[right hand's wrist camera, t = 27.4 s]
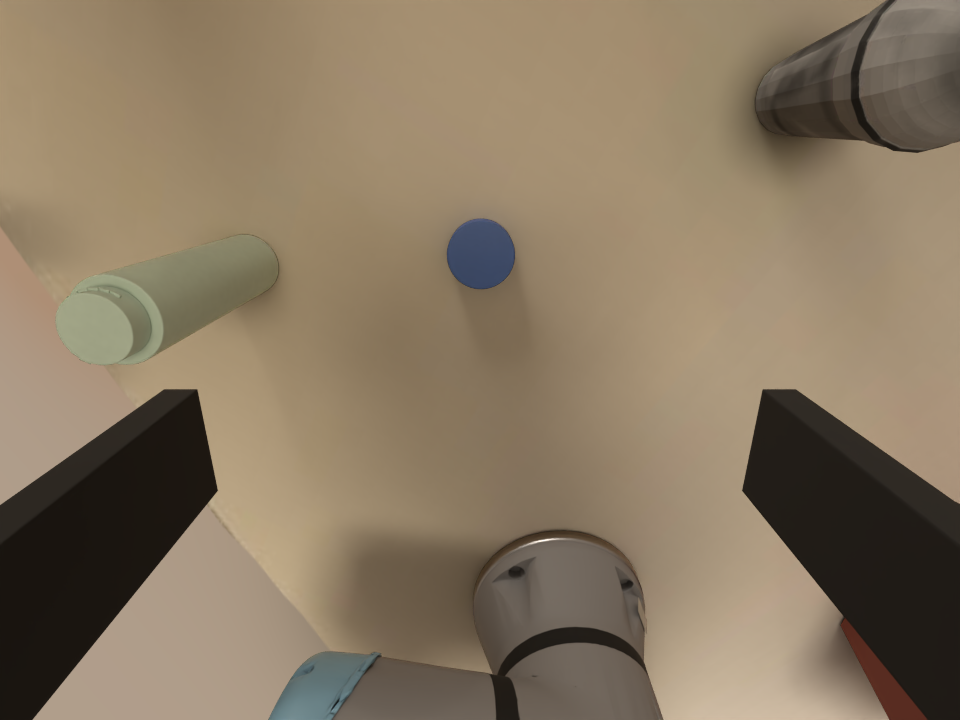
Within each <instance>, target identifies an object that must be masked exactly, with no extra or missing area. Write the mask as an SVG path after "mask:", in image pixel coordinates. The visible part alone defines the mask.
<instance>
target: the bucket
mask: <svg viewBox="0 0 960 720" xmlns="http://www.w3.org/2000/svg"><path fill="white" fill-rule="evenodd" d="M841 627H842V629H843V631H844V633H845V635H846V637H847V639H848V641H849V643H850V645H851V647H852V649H853V650H854V652H855V654H856V656H857V658H858V660H859V662H860V664H861V666H862V668H863V670H864V672H865V674H866V675H867V677H868V679H869V681H870V683H871V685H872V687H873V689H874V691H875V693H876V695H877V697H878V699H879V701H880V702H881V704H882V706H883V708H884V710H885V712H886V714H887V716H888V718H889V720H927V718H926V717H925V716H924V715H923V713H922V712H921V711H920V710H919V708H918V707H917V706H916V705H915V704H914V702H913V701H912V700H911V699H910V697H909V696H908V695H907V694H906V692H905V691H904V690H903V689H902V687H901V686H900V685H899V684H898V683H897V681H896V680H895V679H894V678H893V676H892V675H891V674H890V673H889V671H888V670H887V669H886V668H885V666H884V665H883V664H882V663H881V662H880V660H879V659H878V658H877V657H876V655H875V654H874V653H873V652H872V650H871V649H870V648H869V647H868V645H867V644H866V643H865V642H864V641H863V639H862V638H861V637H860V636H859V634H858V633H857V632H856V631H855V629H854V628H853V627H852V626H851V624H850V623H849V622H848V621H847V620H846V618H844V620H843V622H842V624H841Z"/></svg>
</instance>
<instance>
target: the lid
mask: <svg viewBox="0 0 960 720" xmlns="http://www.w3.org/2000/svg"><path fill="white" fill-rule="evenodd" d="M514 259H515V250H514V246H513V243H512V240H511V238H510V236H509V234H508V233H507V231H506V230H505V229H504V228H503V227H502V226H501V225H499V224H498V223H496V222H494V221H492V220H488V219H474V220H470V221H468V222H466V223H464V224H462V225H461V226H460V227H459V228H458V229H457V230H456V231H455V232H454V234H453V236H452V237H451V240H450V242H449V245H448V250H447V260H448V265H449V268H450V270H451V272H452V273H453V275H454V276H455V277H456V279H457V280H458V281H460V282H461V283H462V284H464V285H466V286H468V287H471V288H475V289H487V288H491V287H494V286H496V285H498V284H500V283H501V282H502V281H503V280H504V279H505V278H506V277H507V276H508V275H509V273H510V272H511V270H512V267H513V264H514Z"/></svg>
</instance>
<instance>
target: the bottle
mask: <svg viewBox="0 0 960 720" xmlns="http://www.w3.org/2000/svg"><path fill="white" fill-rule="evenodd" d="M278 271H279V267H278V261H277V258H276V255H275V253H274V252H273V250H272V249H271V247H270V246H269V245H268V244H267V243H265V242H264V241H263V240H261V239H260V238H258V237H255V236H252V235H246V234H242V235H236V236H232V237H229V238H225V239H222V240H218V241H215V242H211V243H208V244H204V245H200V246H197V247H193V248H190V249H186V250H183V251H179V252H176V253H172V254H169V255H165V256H161V257H158V258H154V259H151V260H147V261H144V262H140V263H137V264H133V265H129V266H126V267H122V268H119V269H115V270H112V271H108V272H105V273H101V274H97V275H94V276H91V277H88V278H86V279H84V280H82V281H81V282H80V283H79V284H78V285H77V286H76V287H75V288H74V289H73V291H72V293H71V295H70V296H68V297H67V298H66V299H65V300H64V301H63V302H62V303H61V304H60V306H59V308H58V310H57V313H56V320H55V321H56V328H57V332H58V335H59V337H60V339H61V340H62V342H63V343H64V345H65V346H66V347H67V348H68V349H69V350H70V351H71V353H73V354H74V355H76V356H77V357H78V358H80V360H82V361H84V362H87V363H89V364H97V365H112V364H115V363H116V364H123V365H131V364H138V363H141V362H144V361H146V360H148V359H150V358H151V357H153V356H155V355H156V354H158V353H160V352H162V351H163V350H165V349H167V348H168V347H170V346H172V345H174V344H175V343H177V342H179V341H181V340H182V339H184V338H186V337H187V336H189V335H191V334H193V333H194V332H196V331H198V330H200V329H201V328H203V327H205V326H206V325H208V324H210V323H212V322H213V321H215V320H217V319H218V318H220V317H222V316H224V315H225V314H227V313H229V312H231V311H232V310H234V309H236V308H237V307H239V306H241V305H243V304H244V303H246V302H248V301H249V300H251V299H253V298H255V297H256V296H258V295H260V294H262V293H263V292H265V291H267V290H268V289H270V288H271V287H272V286H273V284H274V283H275V281H276V279H277V277H278Z"/></svg>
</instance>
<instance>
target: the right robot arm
mask: <svg viewBox="0 0 960 720" xmlns="http://www.w3.org/2000/svg"><path fill="white" fill-rule="evenodd" d="M217 491H218V489H217V484H216V480H215V475H214V470H213V465H212V460H211V455H210V450H209V445H208V440H207V435H206V430H205V425H204V420H203V415H202V410H201V406H200V401H199V396H198V391H197V389H164V390H163V391H161V392H160V393H159V394H157V395H156V396H154V397H153V398H151V399H150V400H149V401H147V402H146V403H144V404H143V405H142V406H140V407H139V408H137V409H136V410H134V411H133V412H132V413H130V414H129V415H127V416H126V417H125V418H123V419H122V420H120V421H119V422H117V423H116V424H115V425H113V426H112V427H110V428H109V429H108V430H106V431H105V432H103V433H102V434H100V435H99V436H98V437H96V438H95V439H93V440H92V441H91V442H89V443H88V444H86V445H85V446H83V447H82V448H81V449H79V450H78V451H76V452H75V453H73V454H72V455H71V456H69V457H68V458H66V459H65V460H64V461H62V462H61V463H59V464H58V465H56V466H55V467H54V468H52V469H51V470H49V471H48V472H47V473H45V474H44V475H42V476H41V477H39V478H38V479H37V480H35V481H34V482H32V483H31V484H30V485H28V486H27V487H25V488H24V489H23V490H21V491H20V492H18V493H17V494H15V495H14V496H13V497H11V498H10V499H8V500H7V501H5V502H4V503H3V504H1V505H0V720H33V718H34V717H35V716H36V715H37V713H38V712H39V711H40V710H41V708H42V707H43V706H44V705H45V704H46V702H47V701H48V700H49V699H50V697H51V696H52V695H53V694H54V692H55V691H56V690H57V689H58V687H59V686H60V685H61V684H62V683H63V681H64V680H65V679H66V678H67V676H68V675H69V674H70V673H71V671H72V670H73V669H74V668H75V666H76V665H77V664H78V663H79V662H80V660H81V659H82V658H83V657H84V655H85V654H86V653H87V652H88V650H89V649H90V648H91V647H92V645H93V644H94V643H95V642H96V640H97V639H98V638H99V637H100V636H101V634H102V633H103V632H104V631H105V629H106V628H107V627H108V626H109V624H110V623H111V622H112V621H113V620H114V618H115V617H116V616H117V615H118V613H119V612H120V611H121V610H122V608H123V607H124V606H125V605H126V603H127V602H128V601H129V600H130V598H131V597H132V596H133V595H134V594H135V592H136V591H137V590H138V589H139V587H140V586H141V585H142V584H143V582H144V581H145V580H146V579H147V578H148V576H149V575H150V574H151V573H152V571H153V570H154V569H155V568H156V566H157V565H158V564H159V563H160V561H161V560H162V559H163V558H164V557H165V555H166V554H167V553H168V552H169V550H170V549H171V548H172V547H173V545H174V544H175V543H176V542H177V540H178V539H179V538H180V537H181V536H182V534H183V533H184V532H185V531H186V529H187V528H188V527H189V526H190V524H191V523H192V522H193V521H194V519H195V518H196V517H197V516H198V514H199V513H200V512H201V511H202V510H203V508H204V507H205V506H206V505H207V503H208V502H209V501H210V500H211V498H212V497H213V496H214V495H215V494H216V492H217ZM742 491H743V492H744V494H745V495H746V496H747V497H748V498H749V500H750V501H751V502H752V503H753V505H754V506H755V507H756V508H757V510H758V511H759V512H760V513H761V515H762V516H763V517H764V518H765V519H766V521H767V522H768V523H769V524H770V526H771V527H772V528H773V529H774V531H775V532H776V533H777V534H778V536H779V537H780V538H781V539H782V540H783V542H784V543H785V544H786V545H787V547H788V548H789V549H790V550H791V552H792V553H793V554H794V555H795V557H796V558H797V559H798V560H799V561H800V563H801V564H802V565H803V566H804V568H805V569H806V570H807V571H808V573H809V574H810V575H811V576H812V578H813V579H814V580H815V581H816V582H817V584H818V585H819V586H820V587H821V589H822V590H823V591H824V592H825V594H826V595H827V596H828V597H829V599H830V600H831V601H832V602H833V603H834V605H835V606H836V607H837V608H838V610H839V611H840V612H841V613H842V615H843V616H844V617H845V618H846V620H847V621H848V622H849V623H850V624H851V626H852V627H853V628H854V629H855V631H856V632H857V633H858V634H859V636H860V637H861V638H862V639H863V641H864V642H865V643H866V644H867V645H868V647H869V648H870V649H871V650H872V652H873V653H874V654H875V655H876V657H877V658H878V659H879V660H880V662H881V663H882V664H883V665H884V666H885V668H886V669H887V670H888V671H889V673H890V674H891V675H892V676H893V678H894V679H895V680H896V681H897V683H898V684H899V685H900V686H901V687H902V689H903V690H904V691H905V692H906V694H907V695H908V696H909V697H910V699H911V700H912V701H913V702H914V704H915V705H916V706H917V707H918V708H919V710H920V711H921V712H922V713H923V715H924V716H925V717H926V718H927V720H960V504H959V503H957V502H955V501H953V500H952V499H950V498H949V497H947V496H946V495H945V494H943V493H942V492H940V491H939V490H938V489H936V488H935V487H933V486H932V485H930V484H929V483H928V482H926V481H925V480H923V479H922V478H921V477H919V476H918V475H916V474H915V473H913V472H912V471H911V470H909V469H908V468H906V467H905V466H904V465H902V464H901V463H899V462H898V461H896V460H895V459H894V458H892V457H891V456H889V455H888V454H887V453H885V452H884V451H882V450H881V449H879V448H878V447H877V446H875V445H874V444H872V443H871V442H869V441H868V440H867V439H865V438H864V437H862V436H861V435H860V434H858V433H857V432H855V431H854V430H852V429H851V428H850V427H848V426H847V425H845V424H844V423H843V422H841V421H840V420H838V419H837V418H835V417H834V416H833V415H831V414H830V413H828V412H827V411H826V410H824V409H823V408H821V407H820V406H818V405H817V404H816V403H814V402H813V401H811V400H810V399H809V398H807V397H806V396H804V395H803V394H801V393H800V392H799V391H797V390H796V389H763V391H762V396H761V401H760V406H759V410H758V415H757V420H756V425H755V430H754V435H753V440H752V445H751V450H750V455H749V460H748V465H747V470H746V475H745V480H744V484H743V489H742ZM473 614H474V621H475V626H476V631H477V634H478V637H479V639H480V642H481V645H482V647H483V650H484V652H485V655H486V657H487V660H488V663H489V665H490V668H491V670H492V673H493V674H488V673H483V672H475V671H468V670H461V669H454V668H447V667H440V666H434V665H428V664H422V663H416V662H410V661H403V660H397V659H391V658H385V657H381V653H377V652H374V653H372V654H370V655H366V654H355V653H344V652H333V651H325V652H321V653H318V654H316V655H314V656H312V657H310V658H309V659H308V660H307V661H305V662H304V663H303V664H302V665H301V666H300V667H299V668H298V669H297V671H296V672H295V673H294V675H293V676H292V678H291V679H290V681H289V682H288V684H287V686H286V687H285V689H284V691H283V692H282V694H281V696H280V698H279V700H278V702H277V703H276V705H275V707H274V709H273V711H272V713H271V715H270V717H269V719H268V720H663V717H662V714H661V711H660V708H659V705H658V703H657V700H656V697H655V694H654V691H653V688H652V685H651V682H650V679H649V676H648V673H647V670H646V667H645V664H644V632H646V633H647V620H646V617H645V604H644V598H643V592H642V588H641V585H640V583H639V580H638V578H637V575H636V573H635V570H634V568H633V567H632V565H631V563H630V562H629V561H628V559H627V558H626V557H625V556H624V555H623V554H622V553H621V552H620V551H619V550H618V549H616V548H615V547H614V546H612V545H611V544H609V543H607V542H606V541H604V540H601V539H599V538H597V537H594V536H591V535H588V534H584V533H579V532H572V531H549V532H542V533H537V534H533V535H530V536H527V537H524V538H521V539H519V540H517V541H515V542H513V543H511V544H509V545H507V546H506V547H504V548H503V549H501V550H500V551H499V552H498V553H496V554H495V555H494V556H493V557H492V558H491V559H490V560H489V561H488V563H487V564H486V565H485V566H484V568H483V569H482V571H481V573H480V575H479V577H478V579H477V582H476V585H475V589H474V598H473Z"/></svg>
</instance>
